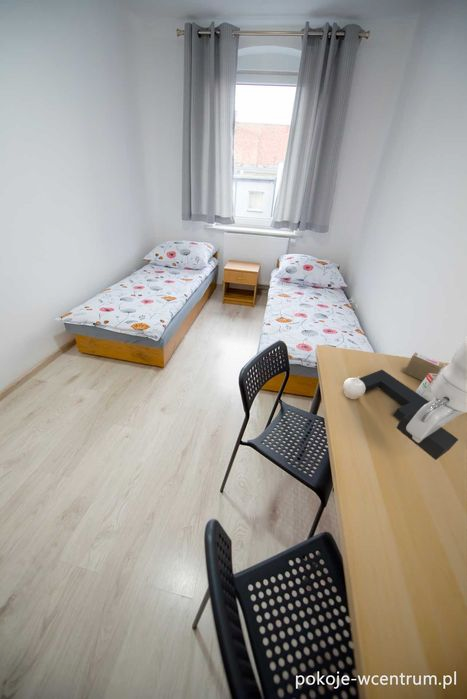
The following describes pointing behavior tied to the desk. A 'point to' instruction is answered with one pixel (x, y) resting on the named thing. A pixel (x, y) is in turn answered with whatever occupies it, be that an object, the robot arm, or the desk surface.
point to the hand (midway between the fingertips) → (425, 433)
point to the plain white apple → (354, 388)
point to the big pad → (395, 392)
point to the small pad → (430, 438)
